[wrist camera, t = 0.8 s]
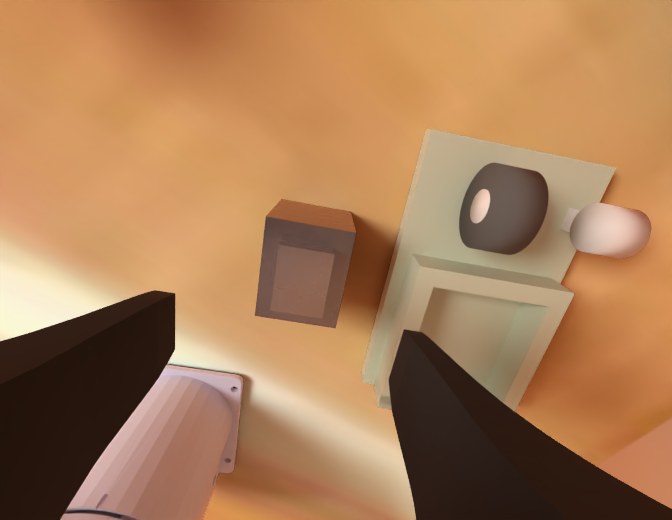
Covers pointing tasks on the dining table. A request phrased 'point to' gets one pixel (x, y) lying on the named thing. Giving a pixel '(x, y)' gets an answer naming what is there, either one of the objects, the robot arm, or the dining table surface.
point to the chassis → (491, 265)
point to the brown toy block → (304, 263)
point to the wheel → (503, 209)
